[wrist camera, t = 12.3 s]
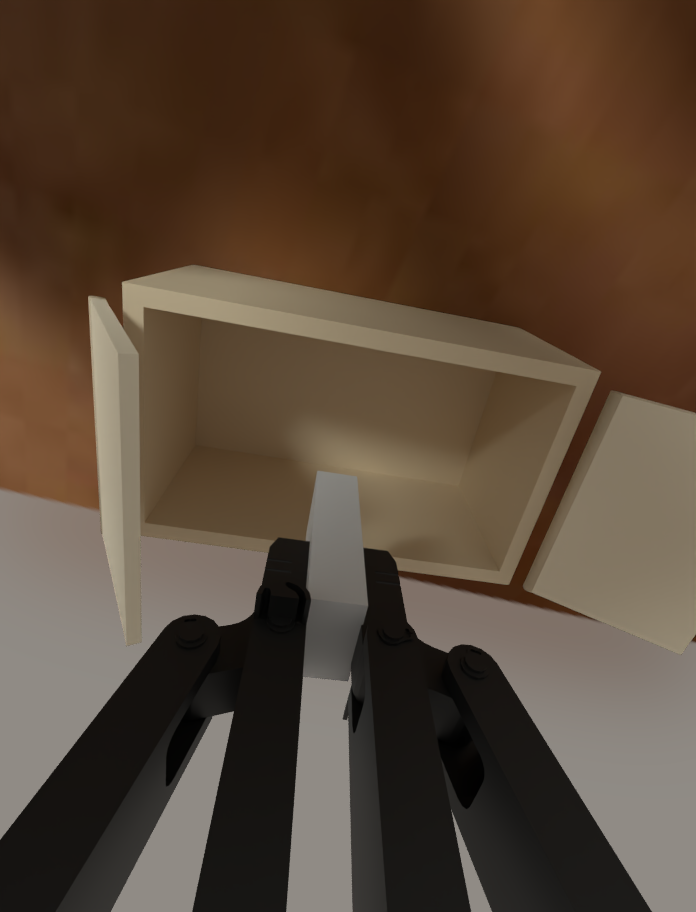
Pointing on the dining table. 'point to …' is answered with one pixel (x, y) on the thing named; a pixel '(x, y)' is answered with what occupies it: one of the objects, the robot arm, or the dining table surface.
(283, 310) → the carton
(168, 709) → the robot arm
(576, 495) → the flap right
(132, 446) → the flap left
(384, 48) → the dining table surface
